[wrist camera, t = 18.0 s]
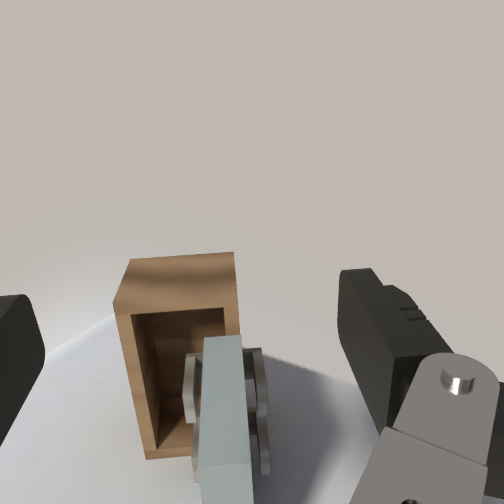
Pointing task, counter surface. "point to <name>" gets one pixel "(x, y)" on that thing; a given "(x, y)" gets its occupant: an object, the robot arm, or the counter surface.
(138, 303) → the cabinet
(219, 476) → the door
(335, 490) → the counter surface
